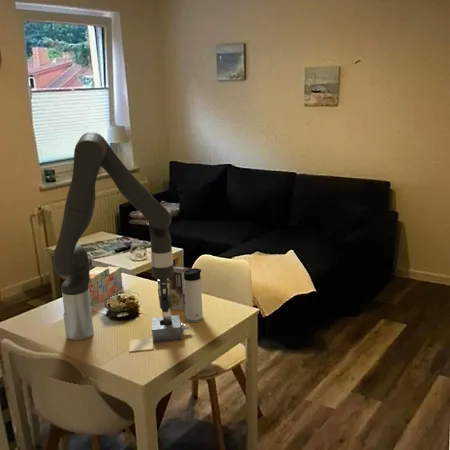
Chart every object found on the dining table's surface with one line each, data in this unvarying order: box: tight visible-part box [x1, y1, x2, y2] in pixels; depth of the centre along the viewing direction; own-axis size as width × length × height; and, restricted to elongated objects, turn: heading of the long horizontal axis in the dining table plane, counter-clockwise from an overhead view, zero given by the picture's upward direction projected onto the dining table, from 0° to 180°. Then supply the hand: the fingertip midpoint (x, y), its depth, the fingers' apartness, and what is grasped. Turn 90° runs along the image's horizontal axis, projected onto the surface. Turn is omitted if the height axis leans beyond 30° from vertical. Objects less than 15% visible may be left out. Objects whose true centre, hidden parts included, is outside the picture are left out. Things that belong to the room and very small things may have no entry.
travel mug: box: [184, 268, 204, 323], centre depth 200 cm, size 6×7×20 cm
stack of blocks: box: [88, 265, 123, 306], centre depth 227 cm, size 21×6×12 cm, turn 159°
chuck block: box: [151, 314, 191, 344], centre depth 190 cm, size 13×10×5 cm
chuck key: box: [157, 288, 172, 325], centre depth 188 cm, size 4×4×13 cm
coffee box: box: [168, 264, 192, 312], centre depth 212 cm, size 9×6×16 cm
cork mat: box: [128, 337, 154, 353], centre depth 184 cm, size 8×8×1 cm
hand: (164, 308), depth 188 cm, fingers closed on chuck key, 4 cm apart
